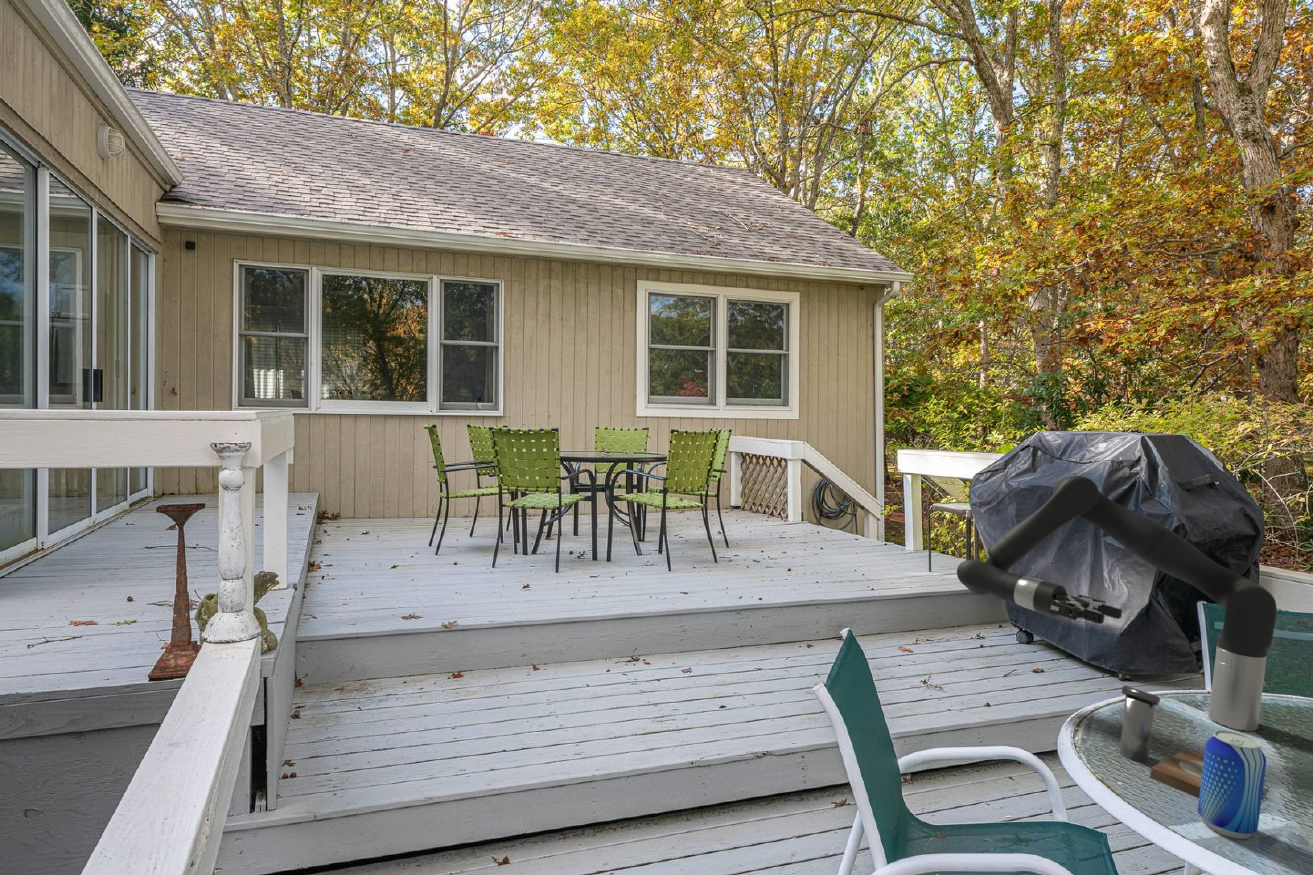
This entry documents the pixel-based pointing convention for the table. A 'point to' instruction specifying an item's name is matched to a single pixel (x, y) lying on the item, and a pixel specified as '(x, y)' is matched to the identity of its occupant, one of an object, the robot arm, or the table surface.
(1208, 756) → the beer can
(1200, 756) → the block
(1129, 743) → the grey cylinder
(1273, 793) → the table surface
